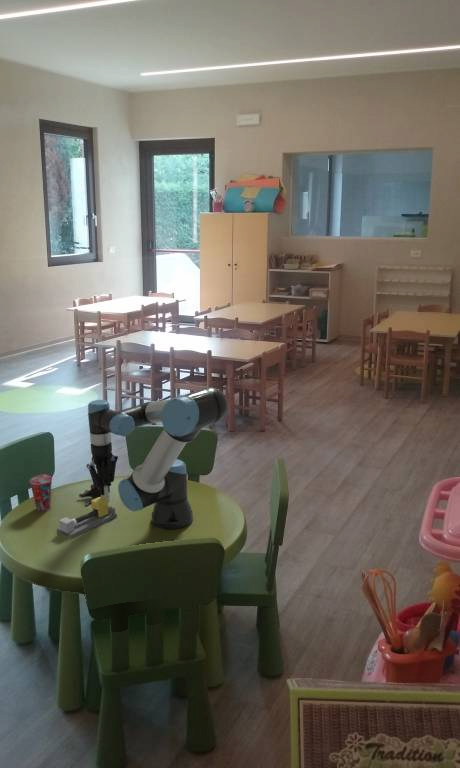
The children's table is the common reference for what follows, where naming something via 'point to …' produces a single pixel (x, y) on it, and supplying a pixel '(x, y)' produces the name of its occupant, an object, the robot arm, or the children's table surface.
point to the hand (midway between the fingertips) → (105, 501)
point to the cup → (42, 491)
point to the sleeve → (100, 506)
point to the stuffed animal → (91, 494)
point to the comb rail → (84, 522)
